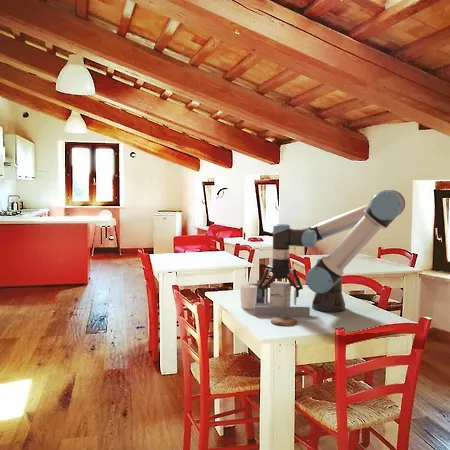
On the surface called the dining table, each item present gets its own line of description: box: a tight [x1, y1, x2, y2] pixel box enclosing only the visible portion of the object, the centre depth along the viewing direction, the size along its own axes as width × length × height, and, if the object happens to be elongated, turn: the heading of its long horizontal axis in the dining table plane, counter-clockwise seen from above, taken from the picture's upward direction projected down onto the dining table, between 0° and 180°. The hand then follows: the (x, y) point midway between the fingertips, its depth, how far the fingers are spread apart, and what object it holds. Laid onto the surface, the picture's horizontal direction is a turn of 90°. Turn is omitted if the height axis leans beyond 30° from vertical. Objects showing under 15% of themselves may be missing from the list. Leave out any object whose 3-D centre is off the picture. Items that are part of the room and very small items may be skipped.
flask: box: [248, 279, 269, 304], centre depth 243 cm, size 9×3×11 cm, turn 79°
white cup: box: [239, 284, 257, 310], centre depth 232 cm, size 8×8×10 cm
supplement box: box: [269, 280, 292, 307], centre depth 228 cm, size 7×7×13 cm
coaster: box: [270, 316, 298, 327], centre depth 208 cm, size 11×11×1 cm
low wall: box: [253, 305, 311, 318], centre depth 218 cm, size 24×2×4 cm, turn 88°
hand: (280, 304), depth 228 cm, fingers open, 13 cm apart
